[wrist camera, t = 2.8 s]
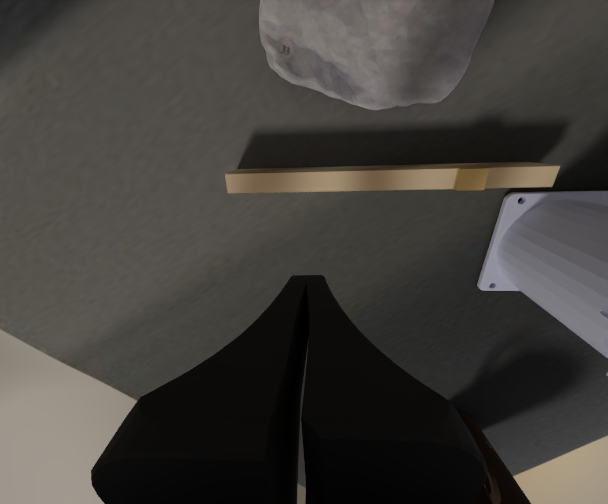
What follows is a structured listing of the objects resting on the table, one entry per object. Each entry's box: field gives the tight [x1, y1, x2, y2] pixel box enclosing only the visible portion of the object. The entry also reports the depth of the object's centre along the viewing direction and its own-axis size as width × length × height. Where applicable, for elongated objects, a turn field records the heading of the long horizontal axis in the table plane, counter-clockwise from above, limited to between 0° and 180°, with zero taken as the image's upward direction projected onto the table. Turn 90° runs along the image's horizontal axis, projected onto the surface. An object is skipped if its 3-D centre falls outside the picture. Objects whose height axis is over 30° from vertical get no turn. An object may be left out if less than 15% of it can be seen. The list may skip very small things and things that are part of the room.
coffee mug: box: [456, 410, 531, 504], centre depth 24 cm, size 12×9×10 cm
